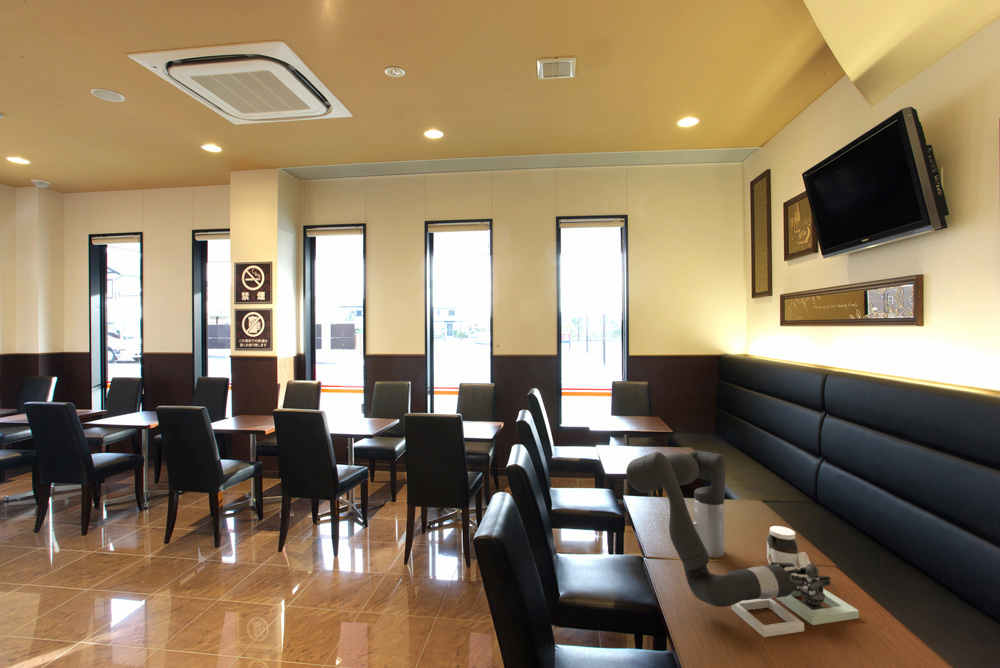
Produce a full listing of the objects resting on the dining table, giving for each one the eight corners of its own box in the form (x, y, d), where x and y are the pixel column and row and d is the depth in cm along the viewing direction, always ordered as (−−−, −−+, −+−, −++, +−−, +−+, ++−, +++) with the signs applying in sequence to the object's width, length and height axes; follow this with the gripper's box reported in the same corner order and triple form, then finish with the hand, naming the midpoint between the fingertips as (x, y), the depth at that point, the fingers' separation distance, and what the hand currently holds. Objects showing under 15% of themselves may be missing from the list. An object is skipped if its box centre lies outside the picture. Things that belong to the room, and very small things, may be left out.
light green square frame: (812, 625, 116) (812, 617, 116) (769, 593, 129) (769, 586, 129) (858, 618, 118) (858, 610, 118) (812, 588, 132) (812, 581, 132)
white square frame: (763, 637, 111) (763, 629, 111) (731, 609, 122) (731, 601, 122) (804, 631, 113) (804, 623, 113) (768, 604, 124) (768, 596, 124)
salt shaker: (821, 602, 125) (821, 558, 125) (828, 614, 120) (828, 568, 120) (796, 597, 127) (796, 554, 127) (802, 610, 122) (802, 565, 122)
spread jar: (763, 558, 150) (764, 522, 150) (803, 562, 147) (803, 526, 147) (775, 577, 138) (775, 538, 138) (818, 582, 135) (818, 543, 135)
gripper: (788, 582, 114) (845, 575, 117) (746, 554, 128) (799, 549, 131) (788, 612, 114) (845, 604, 117) (746, 581, 128) (799, 575, 131)
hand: (820, 575), depth 124 cm, fingers open, 4 cm apart
